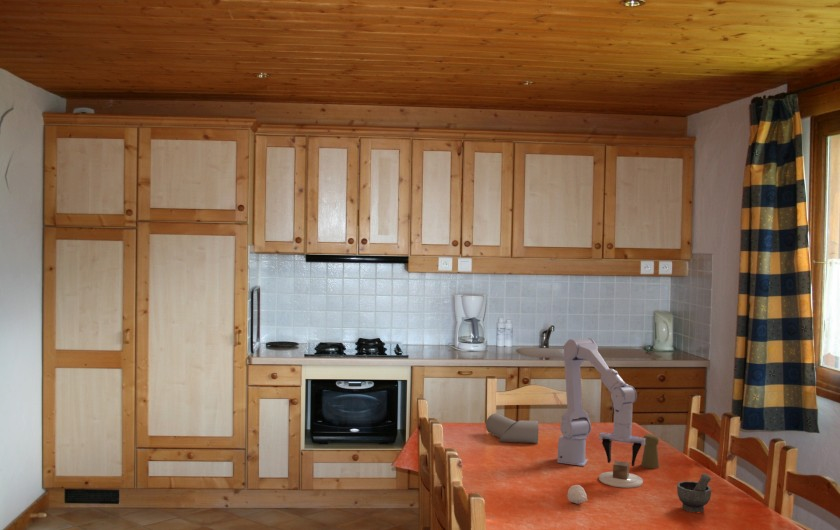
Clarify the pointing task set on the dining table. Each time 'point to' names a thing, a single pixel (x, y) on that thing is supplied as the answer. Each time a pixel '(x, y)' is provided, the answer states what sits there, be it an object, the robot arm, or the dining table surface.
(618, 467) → the walnut cube
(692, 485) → the mortar and pestle
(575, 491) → the garlic bulb
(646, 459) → the pepper mill
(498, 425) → the bent grey cylinder
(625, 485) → the plate
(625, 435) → the robot arm
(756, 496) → the dining table surface
